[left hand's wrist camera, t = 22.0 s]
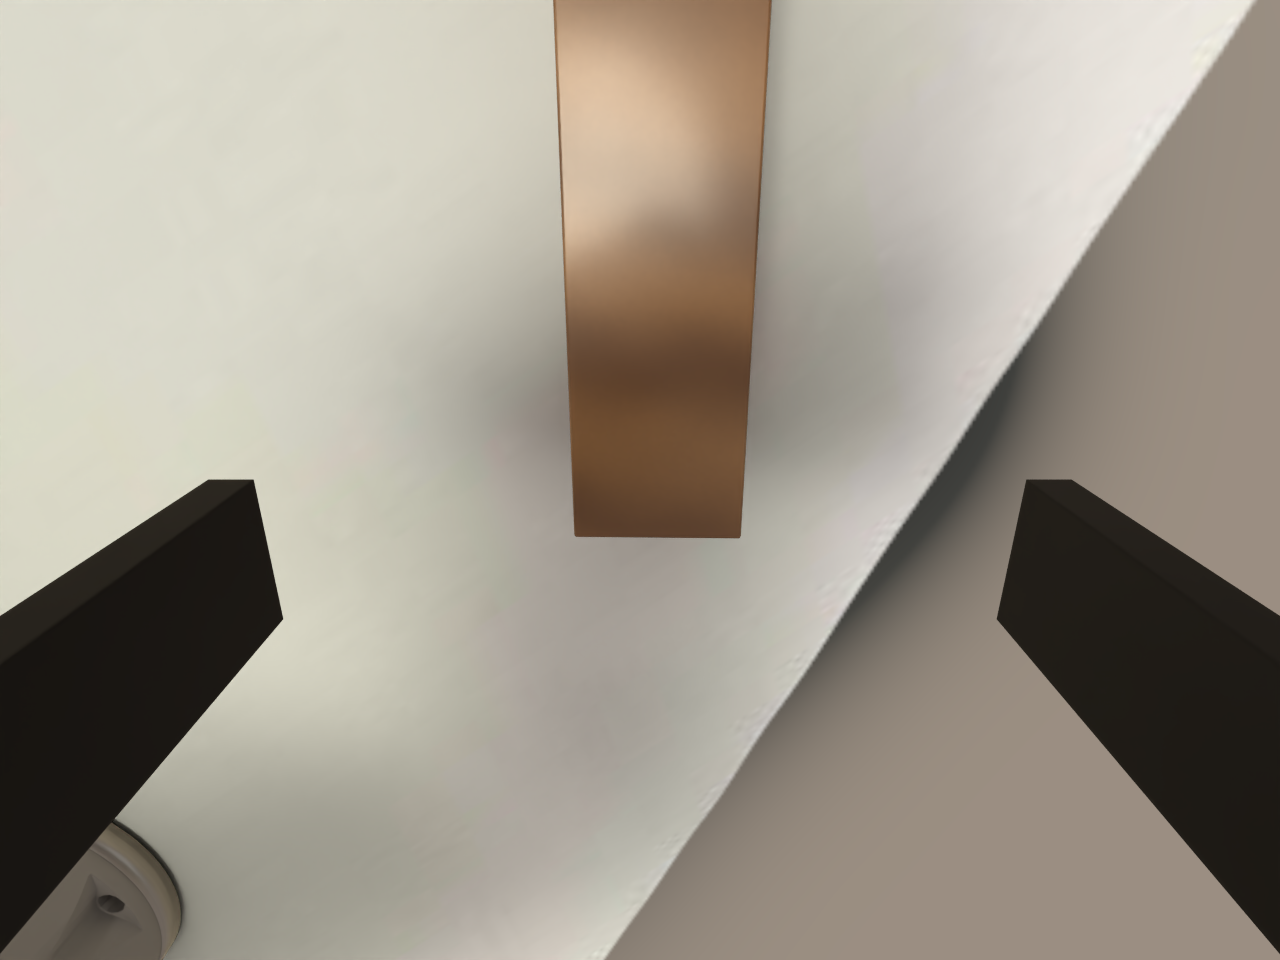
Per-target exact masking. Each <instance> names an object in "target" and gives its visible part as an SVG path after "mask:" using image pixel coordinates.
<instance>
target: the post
mask: <svg viewBox="0 0 1280 960" xmlns="http://www.w3.org/2000/svg"><path fill="white" fill-rule="evenodd" d="M771 5H772V0H553V7H554V32H555V58H556V83H557V108H558V133H559V159H560V184H561V209H562V235H563V260H564V285H565V310H566V336H567V361H568V386H569V412H570V437H571V462H572V487H573V513H574V535H575V536H576V537H661V538H740V536H741V523H742V505H743V488H744V471H745V453H746V436H747V419H748V402H749V384H750V367H751V350H752V333H753V315H754V298H755V281H756V264H757V246H758V229H759V212H760V195H761V177H762V160H763V143H764V126H765V108H766V91H767V74H768V56H769V39H770V22H771Z"/></svg>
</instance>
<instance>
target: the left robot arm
mask: <svg viewBox="0 0 1280 960" xmlns="http://www.w3.org/2000/svg"><path fill="white" fill-rule="evenodd" d="M282 620H283V616H282V611H281V606H280V601H279V597H278V592H277V587H276V583H275V578H274V573H273V569H272V564H271V559H270V555H269V550H268V545H267V540H266V536H265V531H264V526H263V522H262V517H261V512H260V508H259V503H258V498H257V493H256V489H255V484H254V480H207V481H206V482H204V483H203V484H201V485H200V486H198V487H196V488H195V489H193V490H192V491H190V492H189V493H187V494H186V495H184V496H183V497H181V498H180V499H178V500H177V501H175V502H174V503H172V504H170V505H169V506H167V507H166V508H164V509H163V510H161V511H160V512H158V513H157V514H155V515H154V516H152V517H151V518H149V519H148V520H146V521H145V522H143V523H141V524H140V525H138V526H137V527H135V528H134V529H132V530H131V531H129V532H128V533H126V534H125V535H123V536H122V537H120V538H119V539H117V540H116V541H114V542H112V543H111V544H109V545H108V546H106V547H105V548H103V549H102V550H100V551H99V552H97V553H96V554H94V555H93V556H91V557H90V558H88V559H86V560H85V561H83V562H82V563H80V564H79V565H77V566H76V567H74V568H73V569H71V570H70V571H68V572H67V573H65V574H64V575H62V576H61V577H59V578H57V579H56V580H54V581H53V582H51V583H50V584H48V585H47V586H45V587H44V588H42V589H41V590H39V591H38V592H36V593H35V594H33V595H31V596H30V597H28V598H27V599H25V600H24V601H22V602H21V603H19V604H18V605H16V606H15V607H13V608H12V609H10V610H9V611H7V612H6V613H4V614H2V615H1V616H0V960H163V958H164V956H165V955H166V953H167V952H168V950H169V949H170V947H171V946H172V944H173V942H174V940H175V939H176V936H177V934H178V931H179V927H180V922H181V910H180V903H179V899H178V895H177V893H176V890H175V887H174V885H173V883H172V881H171V879H170V878H169V876H168V875H167V873H166V871H165V870H164V868H163V867H162V866H161V865H160V863H159V862H158V861H157V860H156V858H155V857H154V856H153V855H152V854H151V853H150V852H149V851H148V850H147V849H146V848H145V847H144V846H143V845H141V844H140V843H139V842H138V841H137V840H136V839H134V838H133V837H132V836H130V835H129V834H128V833H126V832H125V831H124V830H122V829H120V828H119V827H117V826H116V825H114V824H113V823H111V822H112V821H113V820H114V819H115V817H116V816H117V815H118V814H119V813H120V812H121V810H122V809H123V808H124V807H125V806H126V804H127V803H128V802H129V801H130V800H131V799H132V797H133V796H134V795H135V794H136V793H137V791H138V790H139V789H140V788H141V787H142V786H143V784H144V783H145V782H146V781H147V780H148V778H149V777H150V776H151V775H152V774H153V773H154V771H155V770H156V769H157V768H158V767H159V765H160V764H161V763H162V762H163V761H164V760H165V758H166V757H167V756H168V755H169V754H170V752H171V751H172V750H173V749H174V748H175V747H176V745H177V744H178V743H179V742H180V741H181V739H182V738H183V737H184V736H185V735H186V734H187V732H188V731H189V730H190V729H191V728H192V726H193V725H194V724H195V723H196V722H197V720H198V719H199V718H200V717H201V716H202V715H203V713H204V712H205V711H206V710H207V709H208V707H209V706H210V705H211V704H212V703H213V702H214V700H215V699H216V698H217V697H218V696H219V694H220V693H221V692H222V691H223V690H224V689H225V687H226V686H227V685H228V684H229V683H230V681H231V680H232V679H233V678H234V677H235V676H236V674H237V673H238V672H239V671H240V670H241V668H242V667H243V666H244V665H245V664H246V663H247V661H248V660H249V659H250V658H251V657H252V655H253V654H254V653H255V652H256V651H257V650H258V648H259V647H260V646H261V645H262V644H263V642H264V641H265V640H266V639H267V638H268V637H269V635H270V634H271V633H272V632H273V631H274V629H275V628H276V627H277V626H278V625H279V624H280V622H281V621H282ZM997 620H998V621H999V622H1000V624H1001V625H1002V626H1003V627H1004V628H1005V629H1006V631H1007V632H1008V633H1009V634H1010V635H1011V636H1012V638H1013V639H1014V640H1015V641H1016V642H1017V644H1018V645H1019V646H1020V647H1021V648H1022V650H1023V651H1024V652H1025V653H1026V654H1027V655H1028V657H1029V658H1030V659H1031V660H1032V661H1033V663H1034V664H1035V665H1036V666H1037V667H1038V668H1039V670H1040V671H1041V672H1042V673H1043V674H1044V676H1045V677H1046V678H1047V679H1048V680H1049V681H1050V683H1051V684H1052V685H1053V686H1054V687H1055V689H1056V690H1057V691H1058V692H1059V693H1060V694H1061V696H1062V697H1063V698H1064V699H1065V700H1066V702H1067V703H1068V704H1069V705H1070V706H1071V707H1072V709H1073V710H1074V711H1075V712H1076V713H1077V715H1078V716H1079V717H1080V718H1081V719H1082V720H1083V722H1084V723H1085V724H1086V725H1087V726H1088V728H1089V729H1090V730H1091V731H1092V732H1093V733H1094V735H1095V736H1096V737H1097V738H1098V739H1099V741H1100V742H1101V743H1102V744H1103V745H1104V747H1105V748H1106V749H1107V750H1108V751H1109V752H1110V754H1111V755H1112V756H1113V757H1114V758H1115V759H1116V761H1117V762H1118V763H1119V764H1120V765H1121V767H1122V768H1123V769H1124V770H1125V771H1126V773H1127V774H1128V775H1129V776H1130V777H1131V778H1132V780H1133V781H1134V782H1135V783H1136V784H1137V786H1138V787H1139V788H1140V789H1141V790H1142V791H1143V793H1144V794H1145V795H1146V796H1147V797H1148V799H1149V800H1150V801H1151V802H1152V803H1153V804H1154V806H1155V807H1156V808H1157V809H1158V810H1159V812H1160V813H1161V814H1162V815H1163V816H1164V817H1165V819H1166V820H1167V821H1168V822H1169V823H1170V825H1171V826H1172V827H1173V828H1174V829H1175V830H1176V832H1177V833H1178V834H1179V835H1180V836H1181V838H1182V839H1183V840H1184V841H1185V842H1186V844H1187V845H1188V846H1189V847H1190V848H1191V849H1192V851H1193V852H1194V853H1195V854H1196V855H1197V857H1198V858H1199V859H1200V860H1201V861H1202V862H1203V864H1204V865H1205V866H1206V867H1207V868H1208V870H1209V871H1210V872H1211V873H1212V874H1213V875H1214V877H1215V878H1216V879H1217V880H1218V881H1219V883H1220V884H1221V885H1222V886H1223V887H1224V888H1225V890H1226V891H1227V892H1228V893H1229V894H1230V896H1231V897H1232V898H1233V899H1234V900H1235V901H1236V903H1237V904H1238V905H1239V906H1240V907H1241V909H1242V910H1243V911H1244V912H1245V913H1246V914H1247V916H1248V917H1249V918H1250V919H1251V920H1252V922H1253V923H1254V924H1255V925H1256V926H1257V927H1258V929H1259V930H1260V931H1261V932H1262V933H1263V934H1264V936H1265V937H1266V938H1267V939H1268V940H1269V942H1270V943H1271V944H1272V945H1273V946H1274V948H1275V949H1276V950H1277V951H1278V952H1279V953H1280V616H1279V615H1278V614H1276V613H1274V612H1273V611H1271V610H1270V609H1268V608H1267V607H1265V606H1264V605H1262V604H1261V603H1259V602H1258V601H1256V600H1255V599H1253V598H1252V597H1250V596H1248V595H1247V594H1245V593H1244V592H1242V591H1241V590H1239V589H1238V588H1236V587H1235V586H1233V585H1232V584H1230V583H1229V582H1227V581H1226V580H1224V579H1222V578H1221V577H1219V576H1218V575H1216V574H1215V573H1213V572H1212V571H1210V570H1209V569H1207V568H1206V567H1204V566H1203V565H1201V564H1200V563H1198V562H1197V561H1195V560H1194V559H1192V558H1190V557H1189V556H1187V555H1186V554H1184V553H1183V552H1181V551H1180V550H1178V549H1177V548H1175V547H1174V546H1172V545H1171V544H1169V543H1168V542H1166V541H1164V540H1163V539H1161V538H1160V537H1158V536H1157V535H1155V534H1154V533H1152V532H1151V531H1149V530H1148V529H1146V528H1145V527H1143V526H1142V525H1140V524H1138V523H1137V522H1135V521H1134V520H1132V519H1131V518H1129V517H1128V516H1126V515H1125V514H1123V513H1122V512H1120V511H1119V510H1117V509H1116V508H1114V507H1113V506H1111V505H1109V504H1108V503H1106V502H1105V501H1103V500H1102V499H1100V498H1099V497H1097V496H1096V495H1094V494H1093V493H1091V492H1090V491H1088V490H1087V489H1085V488H1084V487H1082V486H1080V485H1079V484H1077V483H1076V482H1074V481H1073V480H1026V484H1025V489H1024V493H1023V498H1022V503H1021V508H1020V512H1019V517H1018V522H1017V526H1016V531H1015V536H1014V541H1013V545H1012V550H1011V555H1010V559H1009V564H1008V569H1007V573H1006V578H1005V583H1004V587H1003V592H1002V597H1001V601H1000V606H999V611H998V616H997Z"/></svg>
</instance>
